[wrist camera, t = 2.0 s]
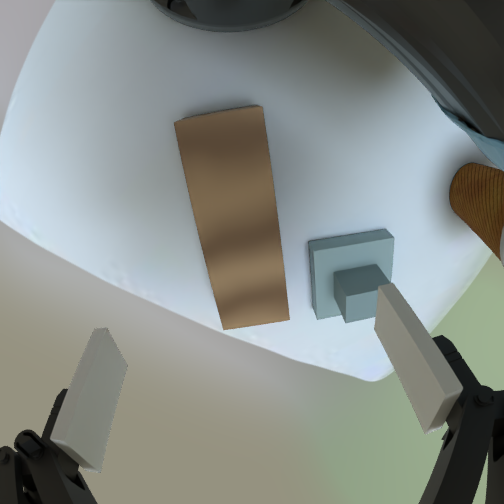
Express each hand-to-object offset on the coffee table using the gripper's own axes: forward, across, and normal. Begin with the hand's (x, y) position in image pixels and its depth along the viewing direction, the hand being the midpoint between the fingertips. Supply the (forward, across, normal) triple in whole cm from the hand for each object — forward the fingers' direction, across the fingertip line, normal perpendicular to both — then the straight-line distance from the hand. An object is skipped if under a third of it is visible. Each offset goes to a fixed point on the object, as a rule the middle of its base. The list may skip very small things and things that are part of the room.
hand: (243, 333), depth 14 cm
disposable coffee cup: (+16, +25, -1) cm, 30 cm away
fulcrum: (+15, +10, -8) cm, 20 cm away
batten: (+16, 0, 0) cm, 16 cm away
